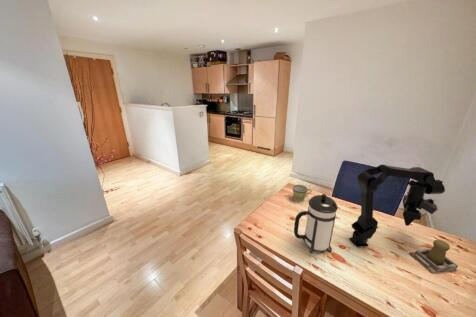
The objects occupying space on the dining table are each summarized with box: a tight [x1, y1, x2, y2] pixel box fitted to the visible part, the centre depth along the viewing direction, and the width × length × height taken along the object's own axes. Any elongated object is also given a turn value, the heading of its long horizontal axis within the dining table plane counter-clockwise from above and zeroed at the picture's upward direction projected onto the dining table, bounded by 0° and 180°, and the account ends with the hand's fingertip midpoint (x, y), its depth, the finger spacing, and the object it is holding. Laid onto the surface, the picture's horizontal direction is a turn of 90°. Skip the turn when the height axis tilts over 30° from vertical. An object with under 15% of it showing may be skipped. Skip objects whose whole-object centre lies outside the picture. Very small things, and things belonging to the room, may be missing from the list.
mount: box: [408, 248, 459, 274], centre depth 92 cm, size 12×11×3 cm
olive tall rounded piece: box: [426, 239, 451, 266], centre depth 90 cm, size 6×6×11 cm
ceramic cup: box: [292, 184, 312, 203], centre depth 141 cm, size 13×10×10 cm
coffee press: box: [293, 193, 339, 254], centre depth 97 cm, size 17×16×30 cm
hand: (406, 220), depth 100 cm, fingers open, 9 cm apart
